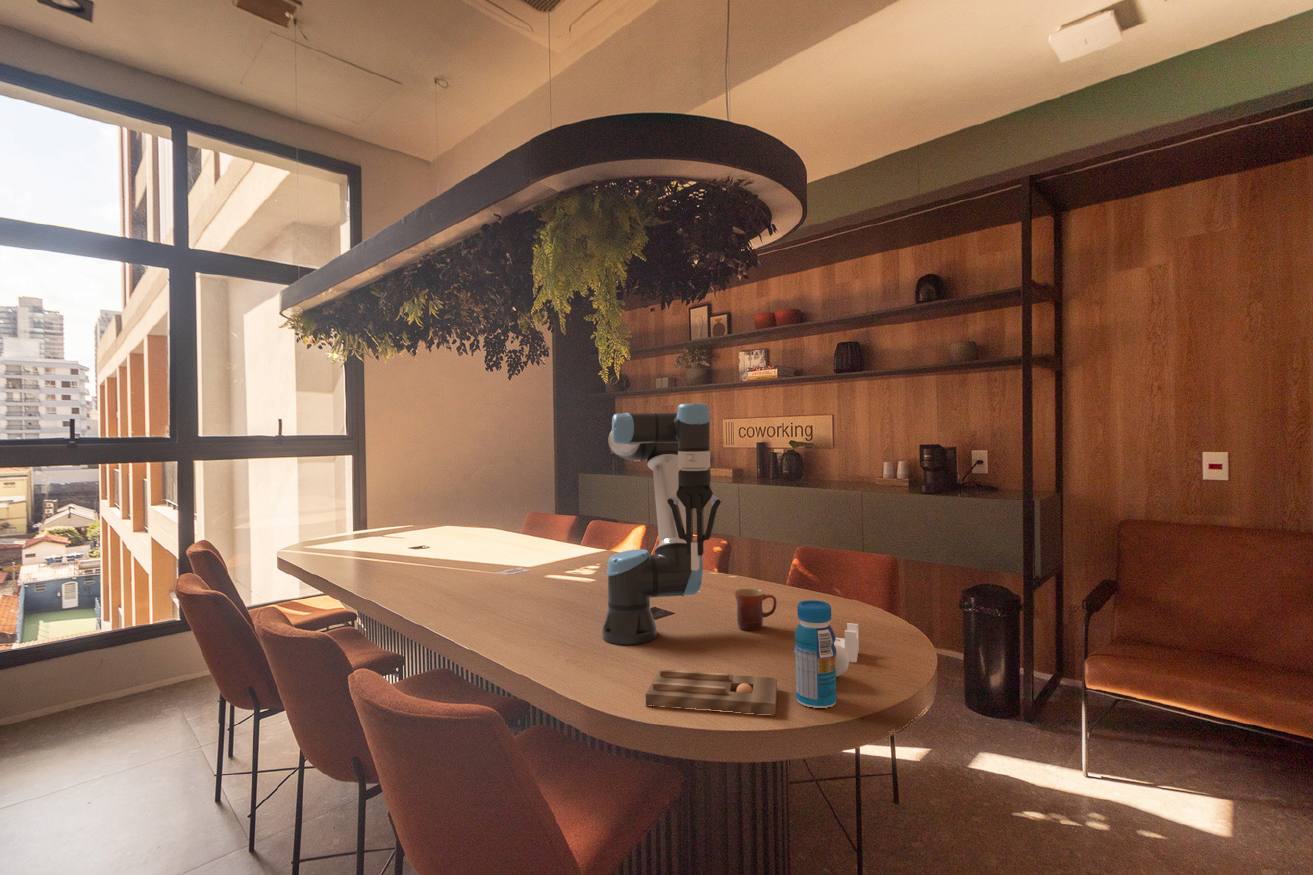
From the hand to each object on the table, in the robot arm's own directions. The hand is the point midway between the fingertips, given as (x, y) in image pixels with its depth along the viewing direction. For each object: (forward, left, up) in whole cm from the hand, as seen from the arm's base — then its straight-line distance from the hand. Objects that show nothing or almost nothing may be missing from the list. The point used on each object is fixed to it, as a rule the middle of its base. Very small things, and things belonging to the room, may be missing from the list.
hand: (695, 568), depth 143 cm
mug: (+12, +35, -24) cm, 44 cm away
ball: (+12, -15, -22) cm, 29 cm away
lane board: (+6, -14, -24) cm, 29 cm away
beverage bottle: (+27, -12, -24) cm, 38 cm away
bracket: (+31, +16, -24) cm, 43 cm away
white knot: (+29, 0, -24) cm, 37 cm away
